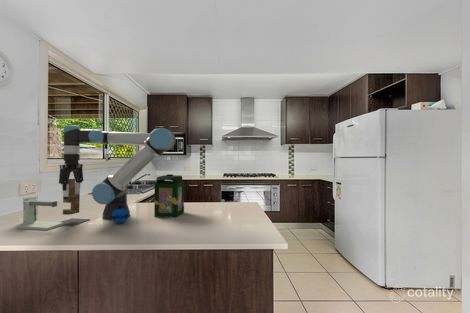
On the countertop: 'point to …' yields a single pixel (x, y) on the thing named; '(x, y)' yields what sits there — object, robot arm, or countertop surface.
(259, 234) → the countertop surface
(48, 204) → the stand
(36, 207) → the syrup box
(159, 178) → the container
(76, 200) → the brown long angular piece
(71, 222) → the mat
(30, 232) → the countertop surface
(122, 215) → the ornament
